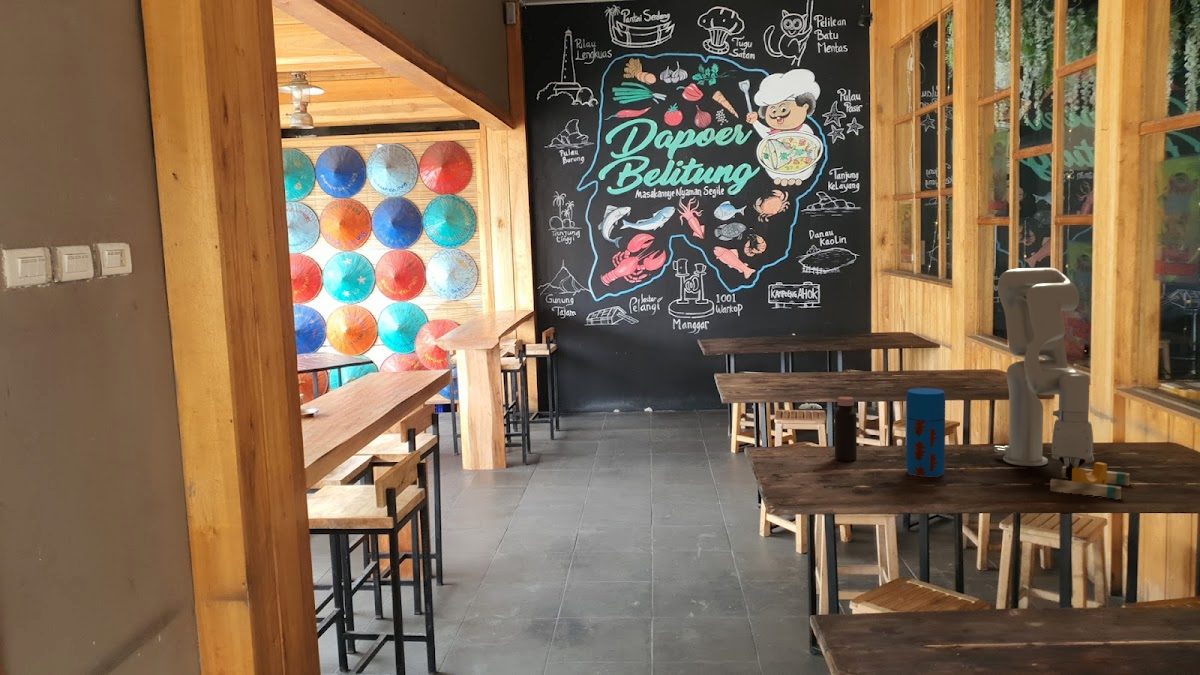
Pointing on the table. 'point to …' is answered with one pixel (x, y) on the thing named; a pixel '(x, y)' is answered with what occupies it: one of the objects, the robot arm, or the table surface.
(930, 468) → the thermos
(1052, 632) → the table surface
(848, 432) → the bottle
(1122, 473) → the channel
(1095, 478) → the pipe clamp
